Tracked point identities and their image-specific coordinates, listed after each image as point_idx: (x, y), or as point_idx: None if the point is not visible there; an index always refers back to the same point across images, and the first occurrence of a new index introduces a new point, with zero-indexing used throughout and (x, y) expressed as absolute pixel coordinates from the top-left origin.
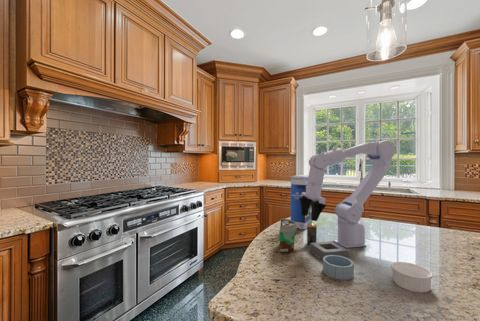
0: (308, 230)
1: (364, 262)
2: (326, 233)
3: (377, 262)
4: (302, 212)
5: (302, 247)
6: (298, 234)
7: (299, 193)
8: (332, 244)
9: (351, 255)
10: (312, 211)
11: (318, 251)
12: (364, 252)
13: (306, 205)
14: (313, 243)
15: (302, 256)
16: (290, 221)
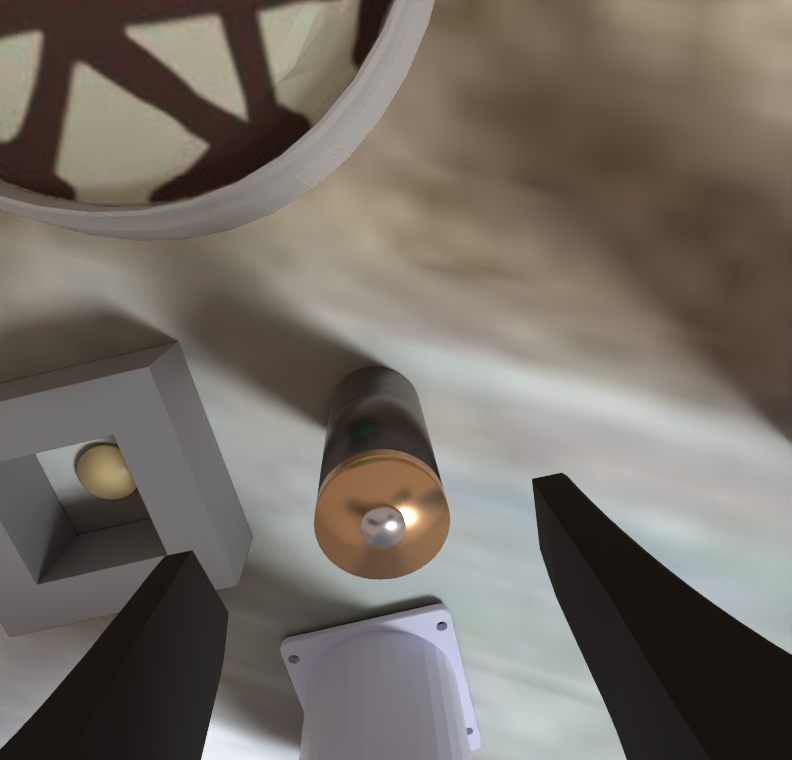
0: (352, 435)
1: (17, 658)
2: None
3: None
4: (551, 512)
5: (275, 293)
6: (676, 352)
7: None
8: (139, 563)
9: None
10: (61, 711)
11: (4, 393)
12: (212, 720)
13: (638, 732)
14: (136, 397)
15: (26, 228)
16: (282, 155)
